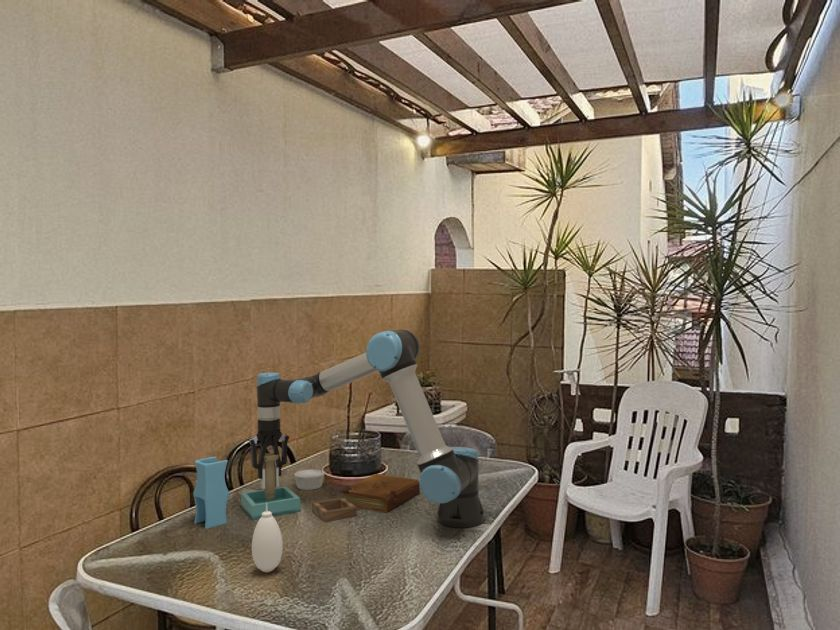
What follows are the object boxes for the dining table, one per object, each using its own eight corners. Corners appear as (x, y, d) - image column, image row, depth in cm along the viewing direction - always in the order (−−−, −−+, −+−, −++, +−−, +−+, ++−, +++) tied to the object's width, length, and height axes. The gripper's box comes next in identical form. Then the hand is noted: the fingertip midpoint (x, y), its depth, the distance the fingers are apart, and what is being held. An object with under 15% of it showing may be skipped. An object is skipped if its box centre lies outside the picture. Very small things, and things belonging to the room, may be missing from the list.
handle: (273, 501, 209) (273, 457, 209) (257, 499, 211) (257, 455, 211) (282, 497, 213) (281, 453, 213) (266, 495, 216) (265, 452, 215)
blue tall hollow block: (229, 522, 200) (228, 460, 199) (206, 529, 194) (205, 465, 193) (216, 516, 205) (215, 456, 205) (193, 523, 199) (192, 460, 199)
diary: (386, 514, 207) (386, 497, 207) (340, 506, 216) (340, 490, 216) (419, 495, 227) (419, 479, 227) (376, 488, 236) (376, 473, 236)
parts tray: (300, 511, 209) (300, 498, 209) (252, 519, 202) (252, 506, 201) (286, 498, 223) (286, 486, 223) (241, 506, 216) (240, 493, 216)
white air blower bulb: (284, 575, 160) (282, 505, 160) (252, 579, 158) (251, 508, 158) (281, 563, 168) (280, 496, 167) (251, 566, 165) (250, 499, 165)
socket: (356, 516, 204) (356, 507, 204) (324, 522, 199) (324, 512, 199) (343, 505, 214) (342, 497, 214) (312, 511, 209) (312, 502, 209)
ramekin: (330, 485, 239) (330, 471, 239) (310, 493, 230) (310, 478, 230) (308, 481, 246) (308, 467, 245) (288, 488, 236) (288, 474, 236)
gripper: (290, 414, 219) (291, 480, 220) (241, 419, 211) (242, 487, 211) (296, 417, 213) (297, 485, 213) (246, 422, 204) (247, 493, 205)
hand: (269, 486), depth 212 cm, fingers closed on handle, 4 cm apart
